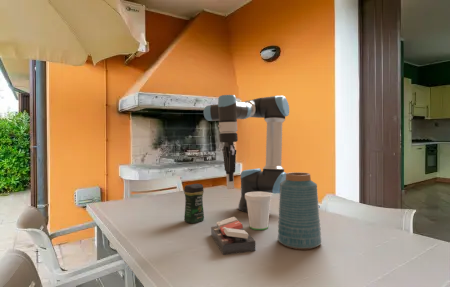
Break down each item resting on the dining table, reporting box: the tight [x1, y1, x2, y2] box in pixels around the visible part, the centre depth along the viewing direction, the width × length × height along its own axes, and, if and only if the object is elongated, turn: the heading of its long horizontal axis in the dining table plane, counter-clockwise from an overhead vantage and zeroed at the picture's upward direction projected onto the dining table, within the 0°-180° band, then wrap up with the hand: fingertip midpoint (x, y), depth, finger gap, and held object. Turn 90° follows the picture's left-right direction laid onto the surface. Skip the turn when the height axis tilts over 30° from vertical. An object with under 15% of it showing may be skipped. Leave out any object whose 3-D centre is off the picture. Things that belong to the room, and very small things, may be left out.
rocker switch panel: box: [210, 225, 256, 256], centre depth 110 cm, size 12×28×5 cm, turn 14°
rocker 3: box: [224, 228, 249, 238], centre depth 100 cm, size 8×5×2 cm, turn 105°
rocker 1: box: [215, 216, 238, 229], centre depth 113 cm, size 8×5×2 cm, turn 104°
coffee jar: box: [183, 183, 205, 224], centre depth 136 cm, size 10×8×19 cm
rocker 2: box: [220, 220, 244, 235], centre depth 107 cm, size 8×5×2 cm, turn 104°
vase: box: [277, 171, 322, 251], centre depth 105 cm, size 16×16×27 cm
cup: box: [245, 192, 273, 231], centre depth 124 cm, size 12×12×15 cm
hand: (230, 188), depth 114 cm, fingers closed
